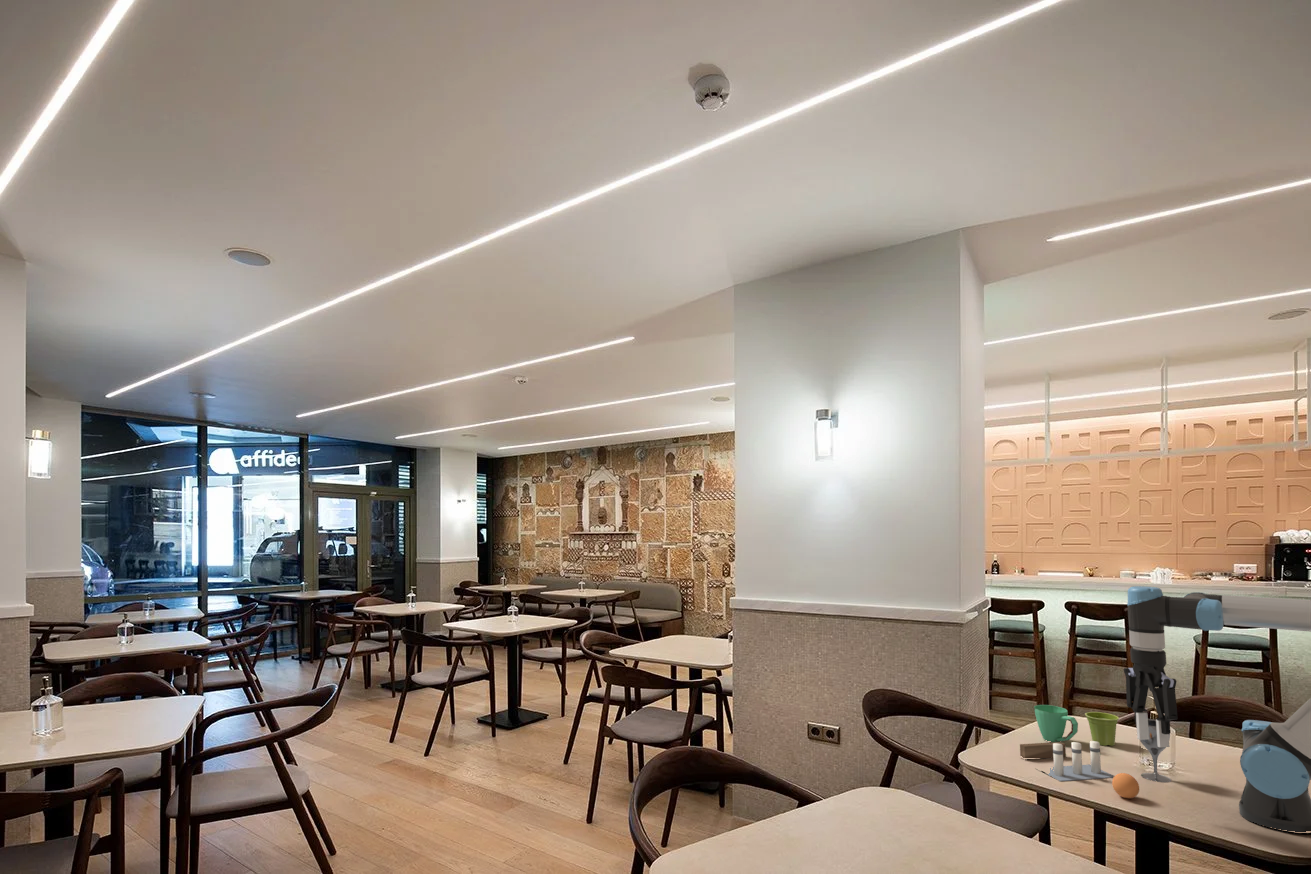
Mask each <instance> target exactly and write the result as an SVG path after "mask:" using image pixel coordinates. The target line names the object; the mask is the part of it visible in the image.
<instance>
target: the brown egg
mask: <svg viewBox="0 0 1311 874" xmlns="http://www.w3.org/2000/svg"><path fill="white" fill-rule="evenodd" d="M1111 786H1112V788H1113V790H1114V792H1115V793H1116V794H1117V795H1118V796H1120V797H1121V798H1124V799H1133V798H1135V797H1137V796H1138V794H1139V792H1140V784H1139V782H1138V781H1137V779H1136V778H1135V777H1134V776H1132V774H1131V775H1130V774H1129V773H1125V772H1124V773H1123V772H1121V773H1117V774H1116V775H1114V778H1112V782H1111Z"/></svg>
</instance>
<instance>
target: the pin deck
mask: <svg viewBox="0 0 1311 874" xmlns="http://www.w3.org/2000/svg"><path fill="white" fill-rule="evenodd" d="M1063 766H1064V776H1056V775H1055V774H1054V771H1053V770H1054V766H1052V767H1053V769H1052V770H1051V768H1050V773H1049V774H1048V775H1049V776H1048V775H1047V776H1048V777H1050V776H1052V777H1053V779H1054V778H1055V780H1056V779H1057V781H1058V780H1059V781H1058V782H1071V781H1083V780H1084V781H1086V780H1096V779H1097V780H1099V779H1100V780H1101V779H1113V778H1114V776H1115V775H1114V774H1111V773H1109V772H1107V771H1105V770H1102V769H1101V774H1096V773H1092V772H1091V764H1082V773H1083V775H1076V774H1073V765H1063ZM1052 777H1051V778H1052Z"/></svg>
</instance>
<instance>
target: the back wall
mask: <svg viewBox="0 0 1311 874" xmlns="http://www.w3.org/2000/svg"><path fill="white" fill-rule="evenodd" d="M1053 743H1059V744H1062V745H1063V759H1064V758H1065V757H1066V758H1067V749H1066V743H1064V742H1063V741H1061V742H1035V743H1020V744H1019V752H1020V756H1022V757H1023V758H1051V759H1054V757H1053ZM1066 758H1065V759H1066Z"/></svg>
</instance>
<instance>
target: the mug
mask: <svg viewBox="0 0 1311 874" xmlns="http://www.w3.org/2000/svg"><path fill="white" fill-rule="evenodd" d="M1033 710H1034V715H1035V719H1036V723H1037V726H1038V728H1039V732H1040V734H1041V736H1042V738H1043V739H1042V740H1044V739H1045V740H1047V741H1051V742H1060V741H1061V742H1065V741H1071V739H1073V737H1074V736H1075V735H1076V734H1077V733H1078V731H1079V723H1078V721H1077V719H1076V717H1074V716H1070V715H1068V714H1069V712H1068V710H1067V709H1066V708H1064V707H1061V706H1057V705H1051V704H1037V705H1034V706H1033ZM1067 721H1069V722H1070V724H1071V731H1070V732H1068V734H1067V735H1066V736H1064V734H1065V730H1066V726H1067ZM1045 740H1044V741H1045ZM1047 741H1046V742H1047Z"/></svg>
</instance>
